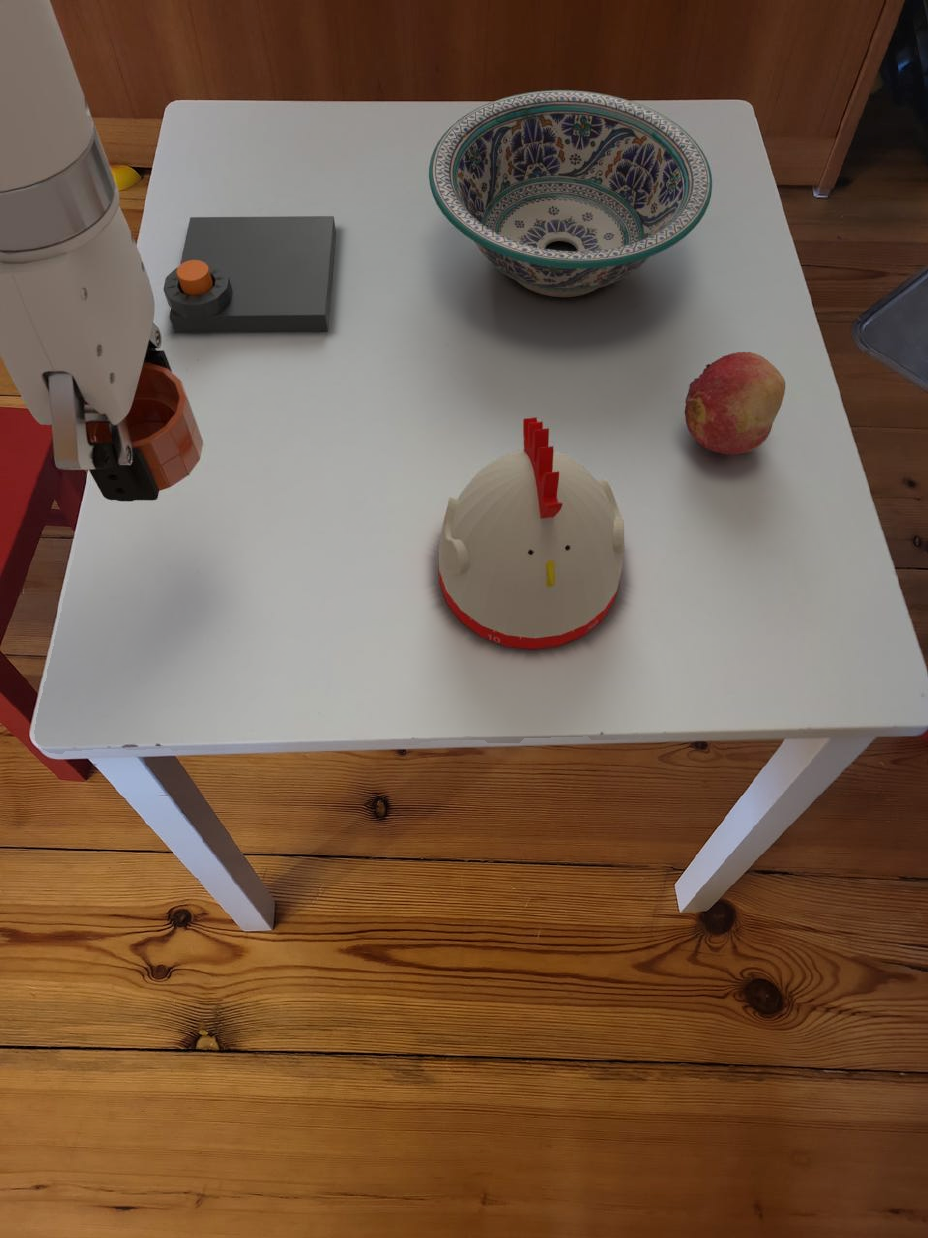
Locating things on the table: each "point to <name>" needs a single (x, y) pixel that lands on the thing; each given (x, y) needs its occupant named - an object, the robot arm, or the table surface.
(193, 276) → the button
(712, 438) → the fruit
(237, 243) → the scale
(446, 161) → the bowl
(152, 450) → the terracotta bowl
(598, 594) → the kitchen timer
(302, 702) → the table surface
